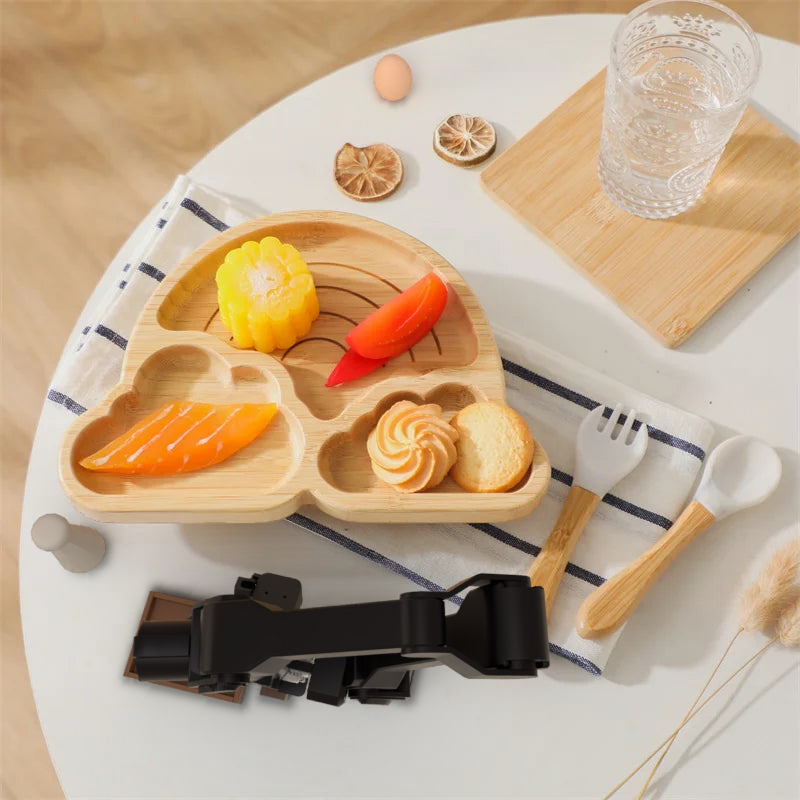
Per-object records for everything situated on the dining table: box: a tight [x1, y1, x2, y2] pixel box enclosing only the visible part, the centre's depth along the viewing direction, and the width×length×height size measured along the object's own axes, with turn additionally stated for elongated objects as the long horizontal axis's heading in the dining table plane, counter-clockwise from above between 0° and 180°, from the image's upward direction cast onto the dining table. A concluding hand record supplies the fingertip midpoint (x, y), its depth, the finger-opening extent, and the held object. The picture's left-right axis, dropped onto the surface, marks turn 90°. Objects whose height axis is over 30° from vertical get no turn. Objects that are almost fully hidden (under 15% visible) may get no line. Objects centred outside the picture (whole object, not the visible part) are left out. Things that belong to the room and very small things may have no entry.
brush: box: [259, 686, 290, 703], centre depth 105 cm, size 3×7×7 cm, turn 167°
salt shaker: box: [30, 513, 106, 574], centre depth 109 cm, size 6×6×13 cm
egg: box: [372, 53, 413, 102], centre depth 135 cm, size 6×6×8 cm
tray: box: [122, 590, 248, 705], centre depth 109 cm, size 14×10×2 cm
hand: (278, 665), depth 105 cm, fingers closed on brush, 2 cm apart
